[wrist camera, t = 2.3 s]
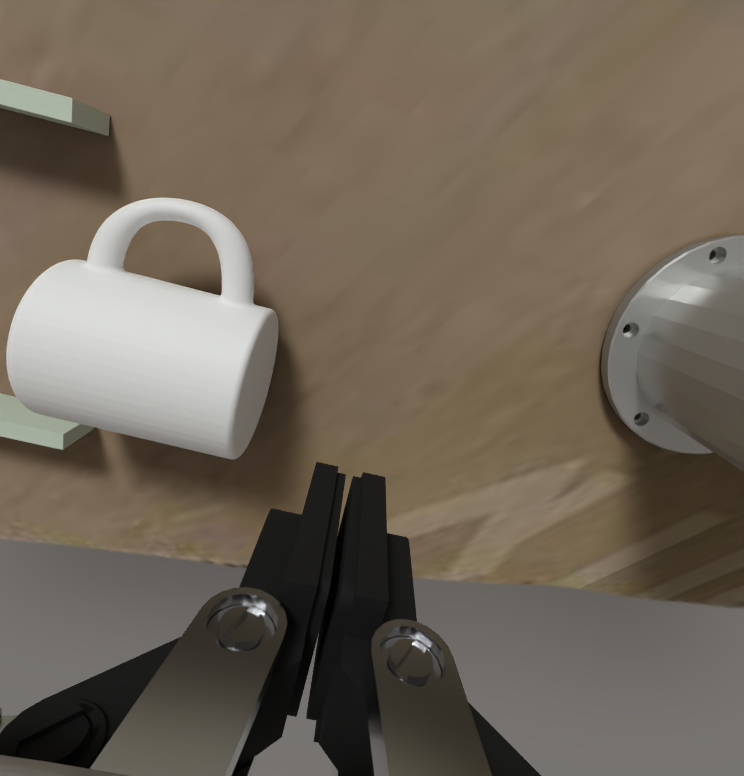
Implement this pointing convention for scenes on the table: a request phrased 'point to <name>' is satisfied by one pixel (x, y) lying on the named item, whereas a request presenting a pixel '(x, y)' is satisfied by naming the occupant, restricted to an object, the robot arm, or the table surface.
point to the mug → (147, 341)
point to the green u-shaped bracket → (7, 411)
